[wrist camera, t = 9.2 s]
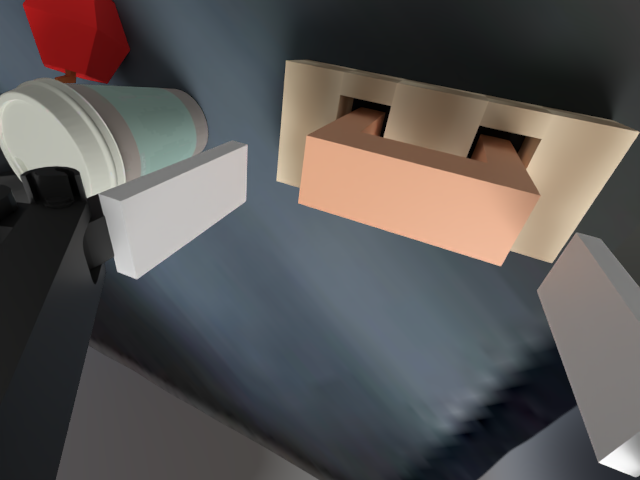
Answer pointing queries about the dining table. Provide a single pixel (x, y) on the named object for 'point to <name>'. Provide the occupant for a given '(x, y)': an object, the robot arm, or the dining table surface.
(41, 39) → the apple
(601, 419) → the robot arm
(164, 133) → the coffee cup
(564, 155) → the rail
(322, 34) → the dining table surface
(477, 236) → the clip
